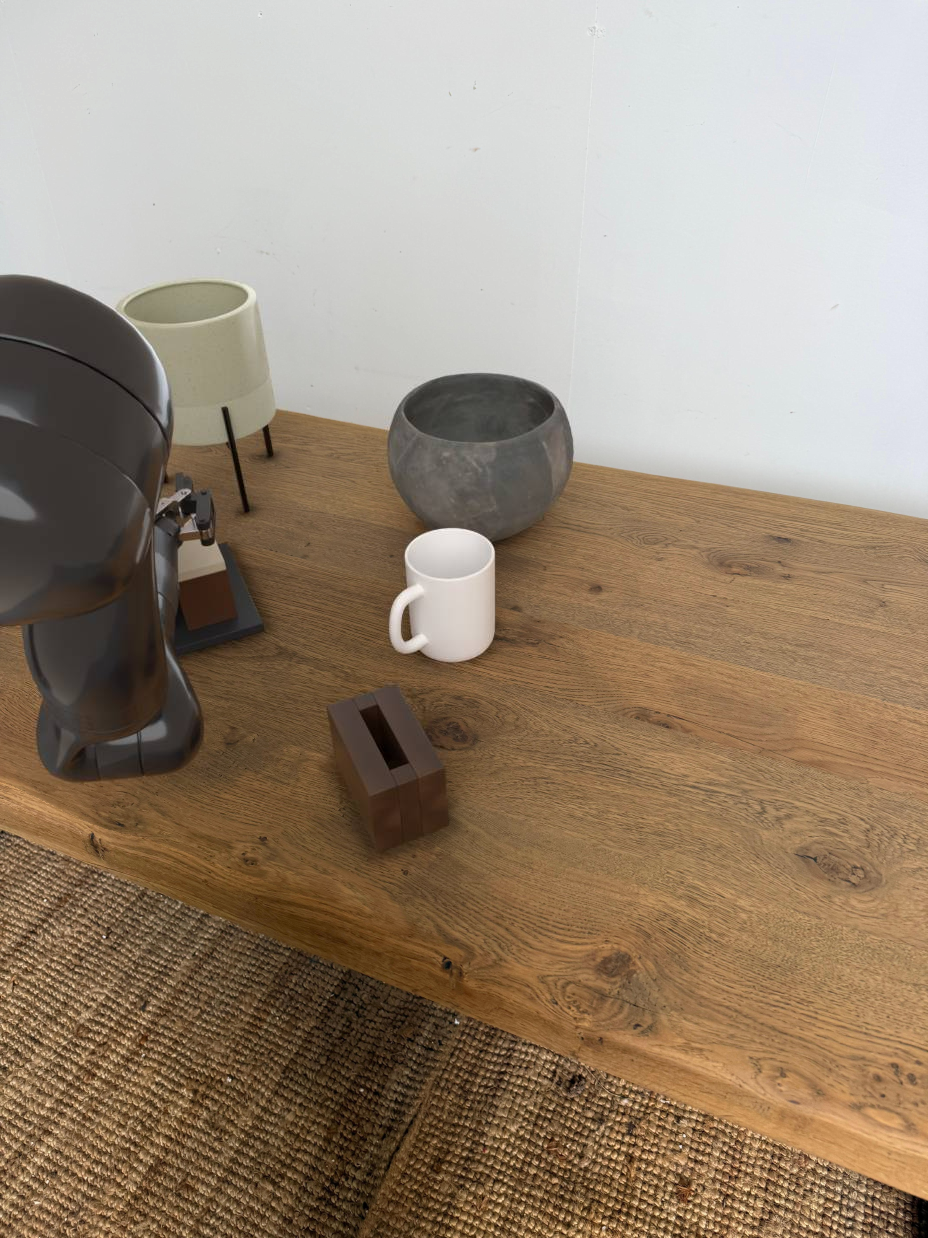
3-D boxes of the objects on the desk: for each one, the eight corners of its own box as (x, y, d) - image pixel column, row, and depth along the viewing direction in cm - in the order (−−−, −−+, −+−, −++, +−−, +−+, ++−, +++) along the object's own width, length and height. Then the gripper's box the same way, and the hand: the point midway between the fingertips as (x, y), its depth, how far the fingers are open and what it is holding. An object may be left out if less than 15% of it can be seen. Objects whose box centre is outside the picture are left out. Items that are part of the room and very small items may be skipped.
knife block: (377, 854, 66) (368, 796, 62) (336, 764, 73) (325, 706, 69) (448, 826, 68) (445, 767, 64) (401, 741, 75) (396, 683, 71)
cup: (512, 634, 86) (513, 550, 79) (425, 697, 79) (419, 612, 73) (452, 599, 90) (449, 517, 84) (366, 657, 84) (355, 573, 77)
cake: (100, 679, 82) (73, 614, 77) (82, 587, 93) (57, 525, 88) (264, 630, 87) (250, 566, 82) (228, 548, 98) (213, 488, 93)
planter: (181, 452, 116) (135, 277, 101) (297, 452, 115) (269, 276, 101) (144, 514, 104) (86, 326, 90) (274, 514, 104) (237, 325, 89)
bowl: (358, 520, 102) (344, 402, 93) (485, 460, 112) (484, 349, 103) (473, 598, 90) (470, 472, 81) (603, 523, 101) (615, 403, 91)
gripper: (208, 533, 70) (202, 441, 82) (22, 563, 67) (44, 463, 79) (227, 605, 75) (219, 508, 87) (54, 636, 72) (70, 531, 84)
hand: (135, 487), depth 83 cm, fingers open, 8 cm apart
